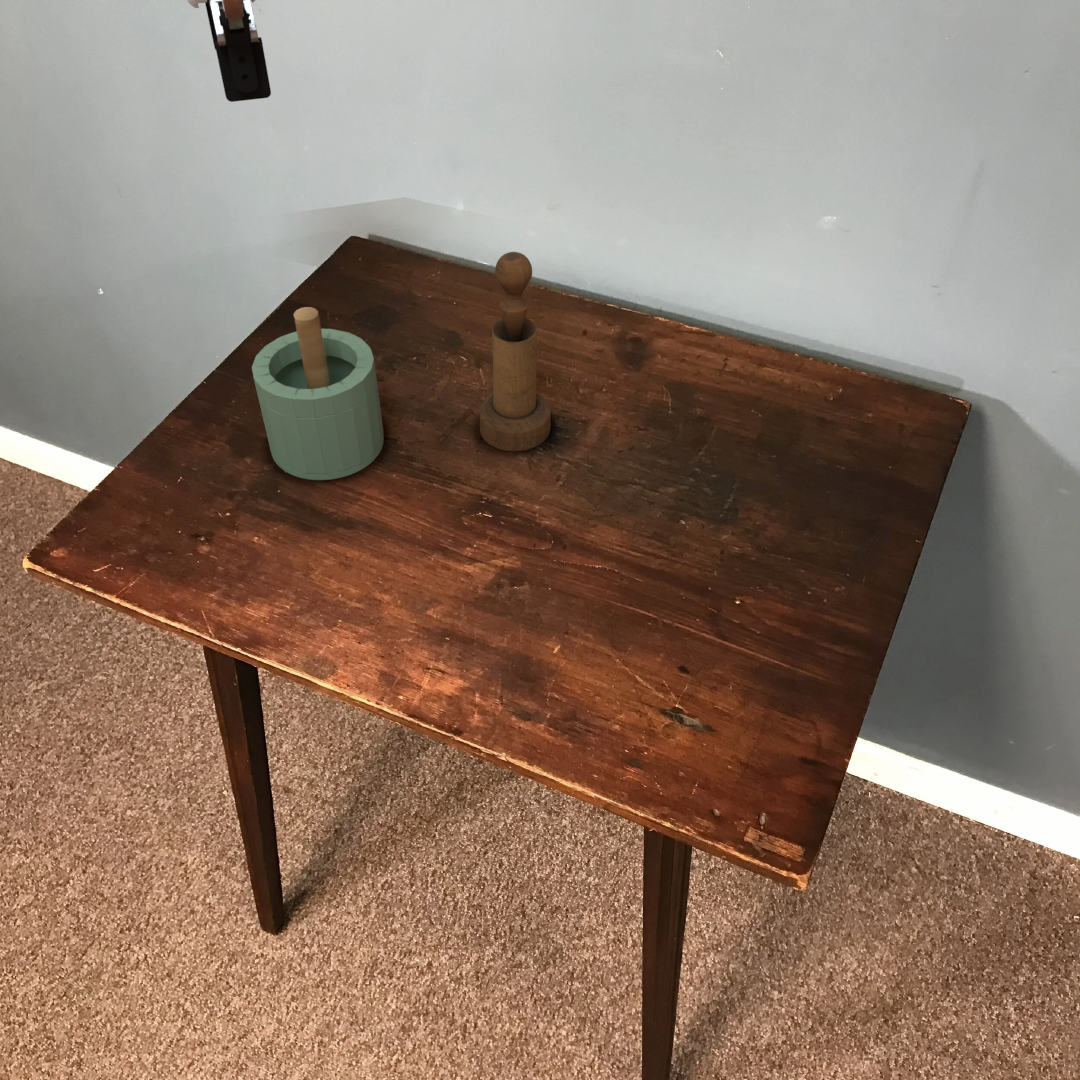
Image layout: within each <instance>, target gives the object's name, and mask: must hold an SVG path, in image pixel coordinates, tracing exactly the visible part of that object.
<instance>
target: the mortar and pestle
mask: <svg viewBox="0 0 1080 1080" xmlns="http://www.w3.org/2000/svg"><path fill="white" fill-rule="evenodd" d="M494 268H495V270H494V274H495V278H496V281H497V282H498V284H499V286H500V287H501V288H502V290H503V291H504V294H505V295H504V299H503V300H502V301H501V302H500V307H499V308H500V312H501V315H502V317H501V318H499V319H497V320H496V321H495V322H494V323H493V324H492V327H491V342H492V343H491V346H492V394H490V395H488V396H487V397H486V398H485V399H484V400H483V402H482V403H481V404H480V408H479V432H480V436H481V438H482V439H483V440H484V442H486V444H488V445H489V446H491V447H493V448H495V449H497V450H501V451H504V452H512V453H513V452H524V451H528V450H532V449H534V448H537V447H538V446H540V445H542V444H543V443H544V442H545V441H546V440H547V439H548V437H549V435H550V433H551V426H552V424H551V423H552V422H551V421H552V420H551V418H552V411H551V406H550V404H549V402H548V400H547V399H546V398H545V397H543V396H542V395H541V394H540V393H537V376H538V375H537V371H538V370H537V368H538V367H537V366H538V365H537V363H538V361H537V360H538V327H537V325H536V323H535V322H534V321H533V320H531V319H530V318H528V317H527V313H528V307H529V303H528V301H527V300H526V299H524V298H523V293H524V291H525V290H526V288H527V286H528V285H529V283H530V282H531V279H532V276H533V267H532V263H531V261H530V259H529V258H528V257H527V256H526V255H525V254H523V253H521V252H519V251H518V252H517V251H510V252H509V251H508V252H507V253H506V252H505V253H504V254H503V255H501V256H500V257H499V258H498V260H497V261H496V264H495V267H494Z"/></svg>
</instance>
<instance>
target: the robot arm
mask: <svg viewBox="0 0 1080 1080" xmlns="http://www.w3.org/2000/svg"><path fill="white" fill-rule="evenodd" d="M255 2H256V0H187V3H188V4H189V5H190V7H191V6H192V7H193V8H194V9H200V7H199V4H205V9H206V15H207V19H208V22H209V23H208V24H209V28H210V33H211V38H212V43H213V46H214V50H215V52H216V56H217V61H218V62H217V63H218V65H219V70H220V71H219V72H220V76H221V81H222V85H223V90H224V95H225V98H226V100H227V101H228V102H232V103H233V102H234V103H235V102H242V101H251V100H260V99H268V98H269V97H271V96H272V95H271V94H272V89H271V85H270V79H269V73H268V68H267V61H266V57H265V51H264V44H263V40H262V37H261V36H260V37H259V33H258V28H257V24H256V19H255V13H254V10H253V5H252V3H255Z"/></svg>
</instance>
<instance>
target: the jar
mask: <svg viewBox="0 0 1080 1080" xmlns="http://www.w3.org/2000/svg"><path fill="white" fill-rule="evenodd" d="M321 331H322V337H323V343H324V349H325V355H326V360H327V366H328V372H329V378H330V384H331V385H330V386H327V387H322V388H316V389H308V388H307V382H306V377H305V372H304V367H303V361H302V356H301V351H300V346H299V340H298V335H297V330H296V331H293V332H290V333H288V334H284V335H282V336H279V337H278V338H276V339H273V341H271V342H270V343H267V344H266V345H265V346H264V347H263V348H262V349H261V350H260V351H259V352H258V353H257V354H256V355H255V356H254V360H253V363H252V366H251V371H252V377H253V381H254V382H253V383H254V386H255V390H256V394H257V398H258V403H259V406H260V411H261V415H262V420H263V424H264V430H265V433H266V436H267V441H268V446H269V450H270V453H271V457H272V459H273V461H274V462H275V464H276V465H277V467H279V468H280V469H281V470H283V471H284V472H285V473H287V474H289V475H291V476H294V477H296V478H300V479H303V480H310V481H329V480H337V479H341V478H345V477H348V476H352V475H354V474H356V473H358V472H360V471H362V470H364V469H365V468H366V467H368V466H369V465H370V464H372V463H373V462H374V461H375V460H376V459H377V458H378V456H379V455H380V453H381V451H382V449H383V446H384V442H385V440H384V436H385V435H384V425H383V424H384V423H383V417H382V409H381V400H380V394H379V386H378V379H377V378H378V377H377V371H376V363H375V362H376V361H375V357H374V353H373V351H372V349H371V347H370V346H369V345H368V343H366V342H365V341H364V340H363V339H362V338H361V337H359V336H357V335H356V334H353V333H352V332H348V331H344V330H338V329H333V328H321Z"/></svg>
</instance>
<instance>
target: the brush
mask: <svg viewBox="0 0 1080 1080" xmlns="http://www.w3.org/2000/svg"><path fill="white" fill-rule="evenodd" d="M293 319H294V325H295V329H296V331H297V335H298V340H299V346H300V351H301V356H302V361H303V367H304V372H305V377H306V382H307V388H308V389H316V388H322V387H327V386H330V385H331V384H330V378H329V372H328V366H327V360H326V355H325V349H324V343H323V337H322V331H321V329H322V326H321V319H320V314H319V311H318V309H317V308H315V307H312V306H303V307H300V308H298V309H296V310H295V311H294V312H293Z"/></svg>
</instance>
